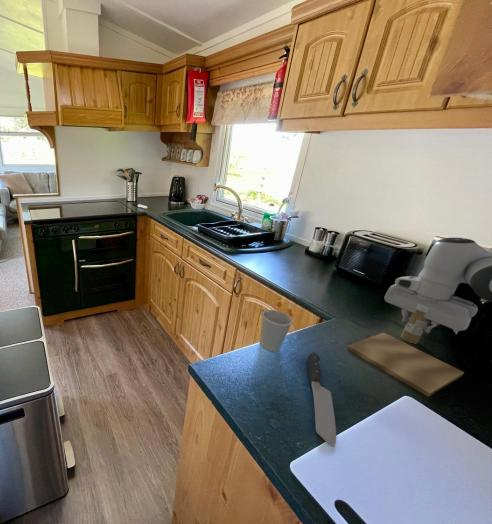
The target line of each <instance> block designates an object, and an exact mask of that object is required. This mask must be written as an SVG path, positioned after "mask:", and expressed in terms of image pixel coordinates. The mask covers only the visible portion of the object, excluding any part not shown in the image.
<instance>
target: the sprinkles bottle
mask: <svg viewBox="0 0 492 524" xmlns="http://www.w3.org/2000/svg"><path fill="white" fill-rule="evenodd" d="M416 309H417V310H416V312H415V313H412V312H411V315H410V316H409V320H408V322H407V324H406V323H405V326H404V328H403V331H402V333H401V334H400V338H401V340H403V341H405V342H406V343H410V344H415V345H416V344H418V343H419V340H420V339H421V336H422V335H423V333H424V331H422V329H423V327H424V326H428V323H429V322H430V320H429V319H427V318H424V314H425V313H427V311H428V309H429V308H428V307H425V306H423V305H420V304H418V305H417V306H416Z"/></svg>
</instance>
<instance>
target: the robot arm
mask: <svg viewBox="0 0 492 524" xmlns="http://www.w3.org/2000/svg"><path fill="white" fill-rule="evenodd" d="M463 283H464V284H467V285H469V286H470V287H471V288H472V290H473V292H474V293H475V294H476V296H478V297H479V298H481V299H483V300H485V301H487V302H490V303H492V252H490V251H489V250H487V249H485V248H484V247H482V246H481V245H479V244H478V243H477V242H476V241H475V240H473V239H471V238H465V237H444V238H441V239H439V240H437V241H436V242H435V243H434V244H433V245H432V247H431V248H430V250H429V252H428V254H427V256H426V258H425V260H424V262H423V268H422V270H421V271H420V272H419V273H418V276H408V275H407V276H400V277H397V278H396V279H395V281H394V284H392V285H390V286H389V288H388V290H387V291H386V293H385V295H384V301H385V302H386V303H388V304H389V305H393V306H394V307H397V308H400V309H401V311H400V312H401V315H402V319H401V323H404V324H405V325H406V324H407V322H408V320H409V318H410V316H409V313H411V314H412V313H415V312H416V310H417V309H416V306H417V305H418V304H420V305H423V306H425V307H428V308H429V309H428V311H427V313H425V314H424V318H427V319H429V321H431V322H430V324H431V325H427V326H424V327H423V329H422V331H423V333H426V334H430V333H431V331H432V330H433V328H436V327H438V326H440V325H442V326H443V327H446V328H449V329H451V330H454V331H456V332H462V331H466V330H467V329H468V328H469V326H470V324H471V321H472V318H474V317H475V316H476V315H477V313H478V311H479V309H478V306H477V305H476V304H475V303H474V302H473V301H471V300H468V299H464V298H462V297H460V296H456V295H455V292H456V291H457V288H458V287H459V285H460V284H463Z"/></svg>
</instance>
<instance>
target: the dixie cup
mask: <svg viewBox="0 0 492 524" xmlns="http://www.w3.org/2000/svg"><path fill="white" fill-rule="evenodd" d="M293 324H294V320H293V318H292V317H291V316H289V315H288V314H286V313H285V312H282V311H279V310H274V309H267V310H263V311H262V312H261V327H260V337H259V345H260V346H261V348H263V349H264V350H266V351H269V352H278V351H280V349H281V347H282V345H283V342H284V341H285V339H286V337H287V334H288V332H289V330H290V328H291V326H292V325H293Z"/></svg>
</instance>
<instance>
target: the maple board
mask: <svg viewBox="0 0 492 524" xmlns="http://www.w3.org/2000/svg"><path fill="white" fill-rule="evenodd" d="M346 350H348V351H350V352H351V353H353V354H354V355H357V356H358V357H360V358H361V359H363V360H365V361H366V362H368V363H370V364H372V365H373V366H375V367H377V368H378V369H380V370H382V371H383V372H385V373H387V374H389V375H390V376H392V377H393V378H394V379H395V378H396V379H397V380H399V381H400V382H402V383H404V384H405V385H407V386H409V387H411V388H413V389H414V390H416V391H418V392H419V393H421V394H422V395H424V396H426V397H428V398H429V397H431V396H432V395H434V394H436V393H437V392H439V391H441V390H442V389H444V388H446V387H447V386H448V385H450V384H452V383H453V382H455V381H457V380H458V379H459V378H461V377H464V374H465V372H464V371H463V370H461V369H459V368H457V367H455V366H452V365H450V364H449V363H446V362H444V361H442V360H440V359H438V358H436V357H434V356H432V355H430V354H429V353H427V352H424V351H422V350H421V349H418V348H416V347H414V346H412V345H410V344H408V343H407V342H403V341H401V340H400V339H397V338H395V337H393V336H391V335H389V334H387V333H385V332H381V333H377V334H375V335H373V336H370V337H367V338H365V339H362V340H359V341H357V342H354V343H352V344H348V345H347V347H346Z"/></svg>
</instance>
